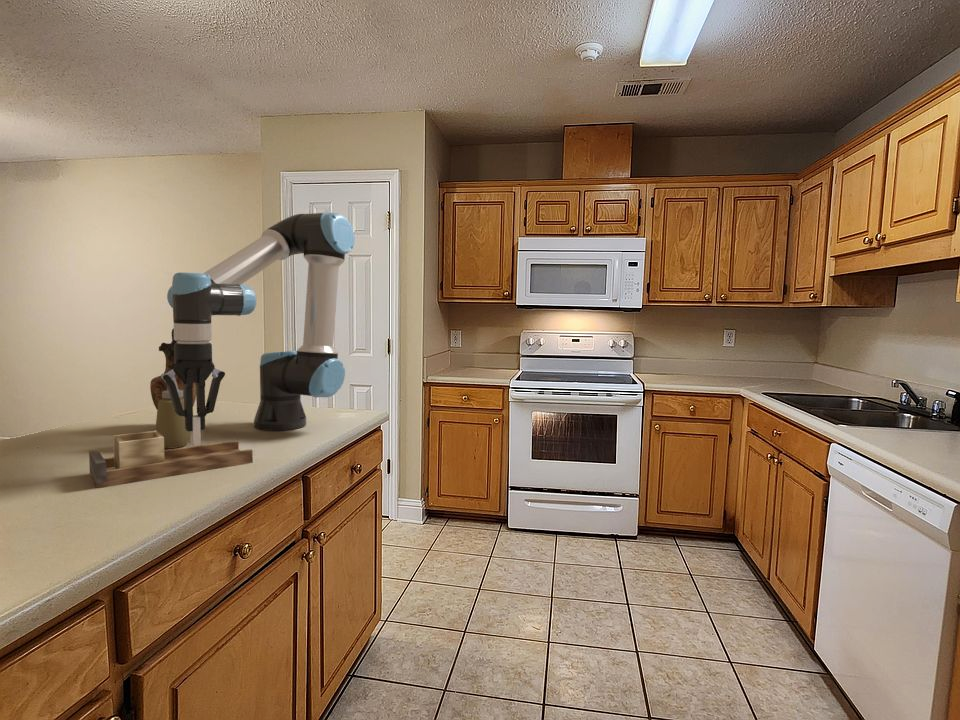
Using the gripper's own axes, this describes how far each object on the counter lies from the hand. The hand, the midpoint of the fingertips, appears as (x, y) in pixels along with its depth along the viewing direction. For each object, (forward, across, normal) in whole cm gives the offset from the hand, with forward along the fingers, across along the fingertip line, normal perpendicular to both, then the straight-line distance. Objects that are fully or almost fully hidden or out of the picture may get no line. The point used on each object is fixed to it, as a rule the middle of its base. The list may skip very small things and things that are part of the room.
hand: (195, 444), depth 120 cm
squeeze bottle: (+5, 0, -20) cm, 20 cm away
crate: (+4, +11, 0) cm, 12 cm away
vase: (+5, -5, -41) cm, 41 cm away
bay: (+5, +4, 0) cm, 6 cm away
